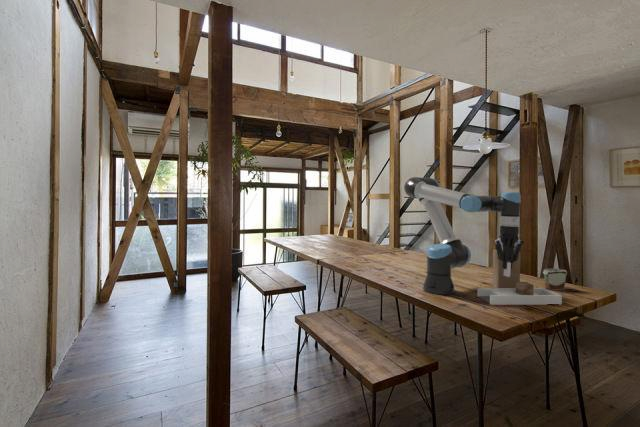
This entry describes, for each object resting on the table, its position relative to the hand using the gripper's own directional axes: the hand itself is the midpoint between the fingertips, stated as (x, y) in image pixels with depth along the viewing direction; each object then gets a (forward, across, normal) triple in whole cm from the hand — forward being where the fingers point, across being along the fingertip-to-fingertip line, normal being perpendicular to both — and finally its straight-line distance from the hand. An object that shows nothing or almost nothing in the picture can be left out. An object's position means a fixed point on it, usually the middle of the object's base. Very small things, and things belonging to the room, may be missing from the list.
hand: (506, 275), depth 148 cm
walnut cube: (+8, +8, 0) cm, 12 cm away
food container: (+12, +36, +19) cm, 43 cm away
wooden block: (+12, +10, +17) cm, 23 cm away
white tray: (+11, +5, -1) cm, 13 cm away
